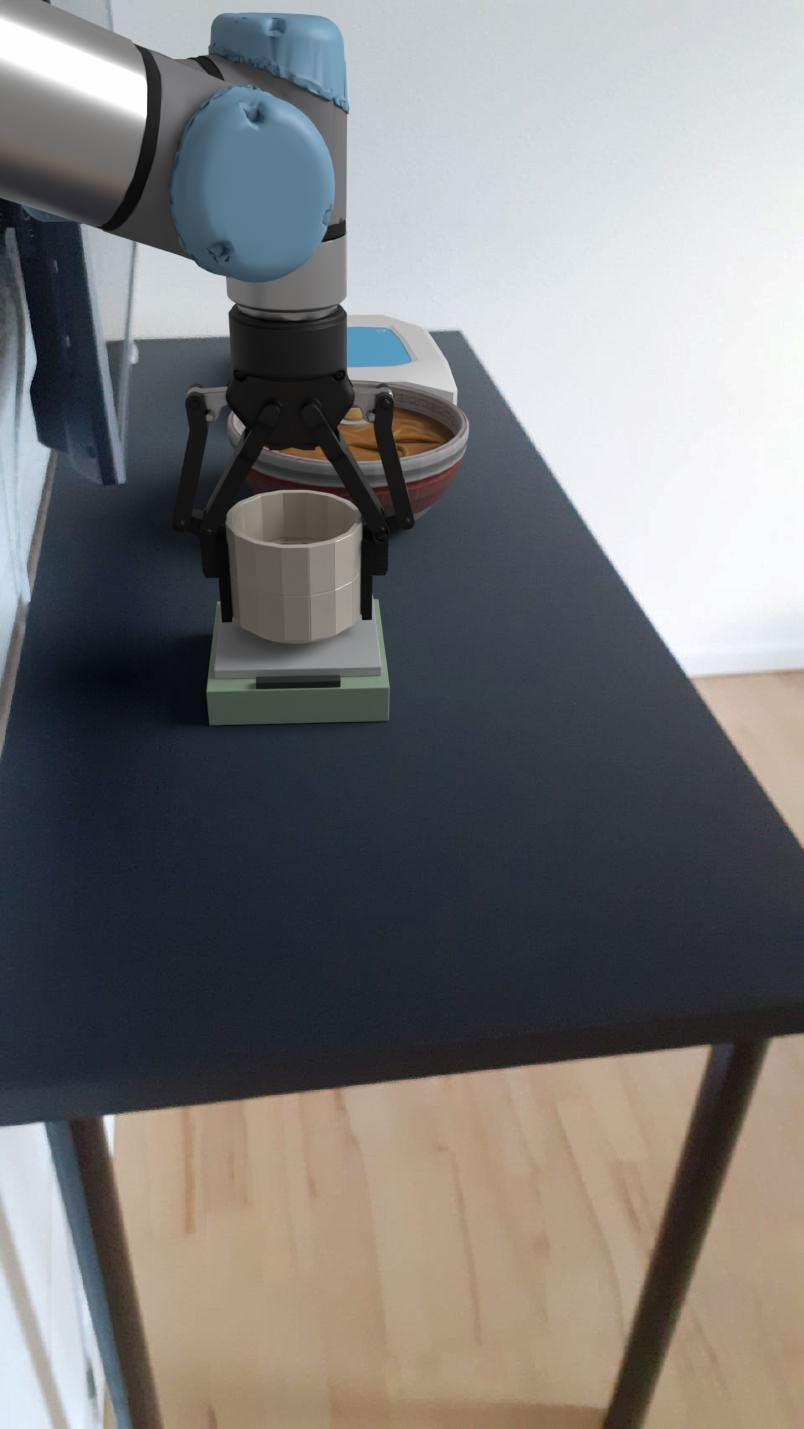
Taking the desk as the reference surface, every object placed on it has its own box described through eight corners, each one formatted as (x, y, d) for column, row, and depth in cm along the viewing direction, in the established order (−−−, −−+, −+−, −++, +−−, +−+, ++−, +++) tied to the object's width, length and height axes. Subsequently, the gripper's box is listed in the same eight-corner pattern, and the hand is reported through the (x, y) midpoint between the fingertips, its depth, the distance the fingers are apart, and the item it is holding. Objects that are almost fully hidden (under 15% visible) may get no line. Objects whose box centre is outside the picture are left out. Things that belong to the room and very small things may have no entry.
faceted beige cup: (229, 649, 77) (222, 548, 72) (235, 585, 85) (229, 490, 80) (364, 647, 78) (365, 546, 73) (358, 584, 86) (358, 489, 81)
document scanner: (277, 437, 124) (275, 383, 121) (262, 362, 147) (260, 315, 143) (456, 431, 128) (459, 378, 124) (414, 358, 150) (416, 312, 147)
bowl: (265, 462, 118) (261, 371, 113) (473, 480, 116) (480, 388, 110) (203, 555, 100) (194, 451, 94) (449, 579, 97) (455, 474, 92)
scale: (209, 725, 78) (205, 682, 76) (219, 633, 89) (216, 592, 86) (388, 721, 79) (390, 677, 77) (377, 630, 90) (378, 589, 87)
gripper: (455, 290, 72) (439, 586, 85) (116, 287, 70) (152, 590, 83) (469, 321, 66) (450, 635, 79) (99, 319, 64) (140, 641, 77)
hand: (297, 612), depth 81 cm, fingers closed on faceted beige cup, 10 cm apart
